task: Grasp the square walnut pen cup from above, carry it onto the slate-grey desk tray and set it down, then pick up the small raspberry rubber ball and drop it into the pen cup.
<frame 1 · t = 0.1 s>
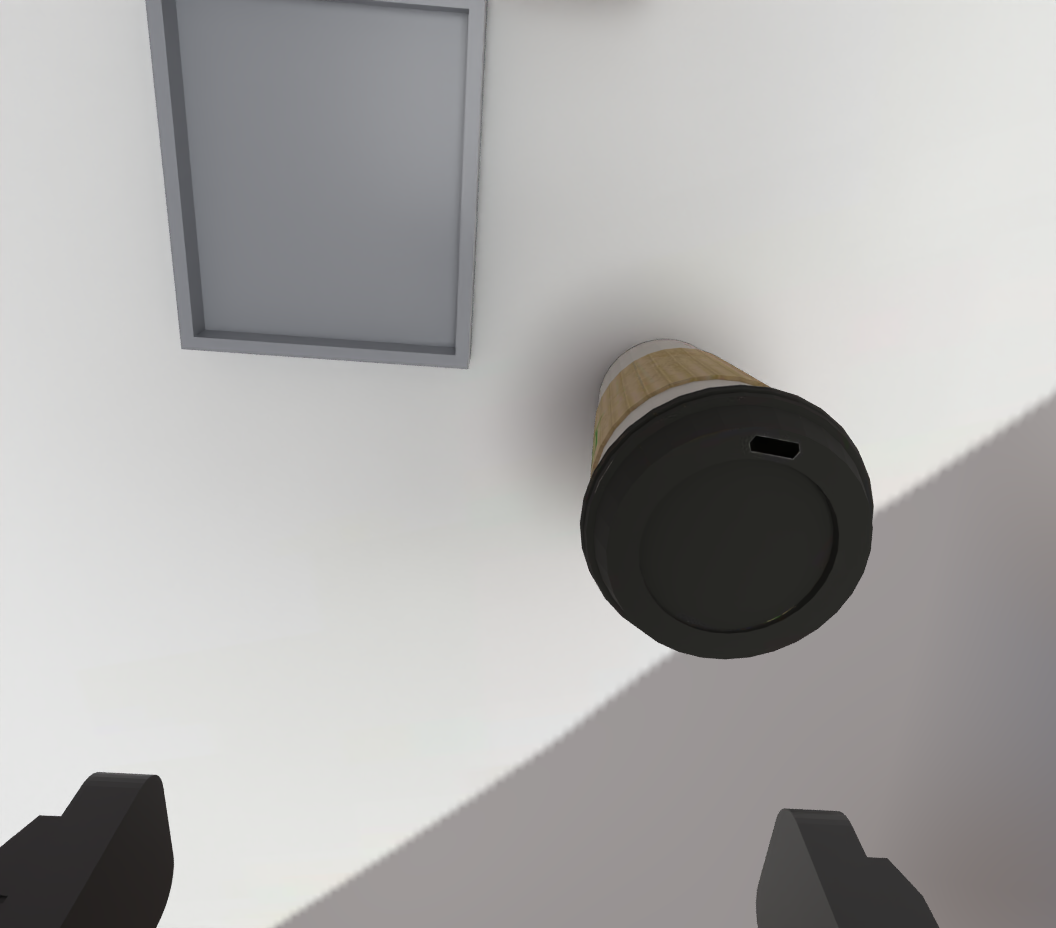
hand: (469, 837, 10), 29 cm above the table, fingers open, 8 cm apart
coffee cup: (659, 398, 39), on the table
tray: (331, 182, 34), on the table
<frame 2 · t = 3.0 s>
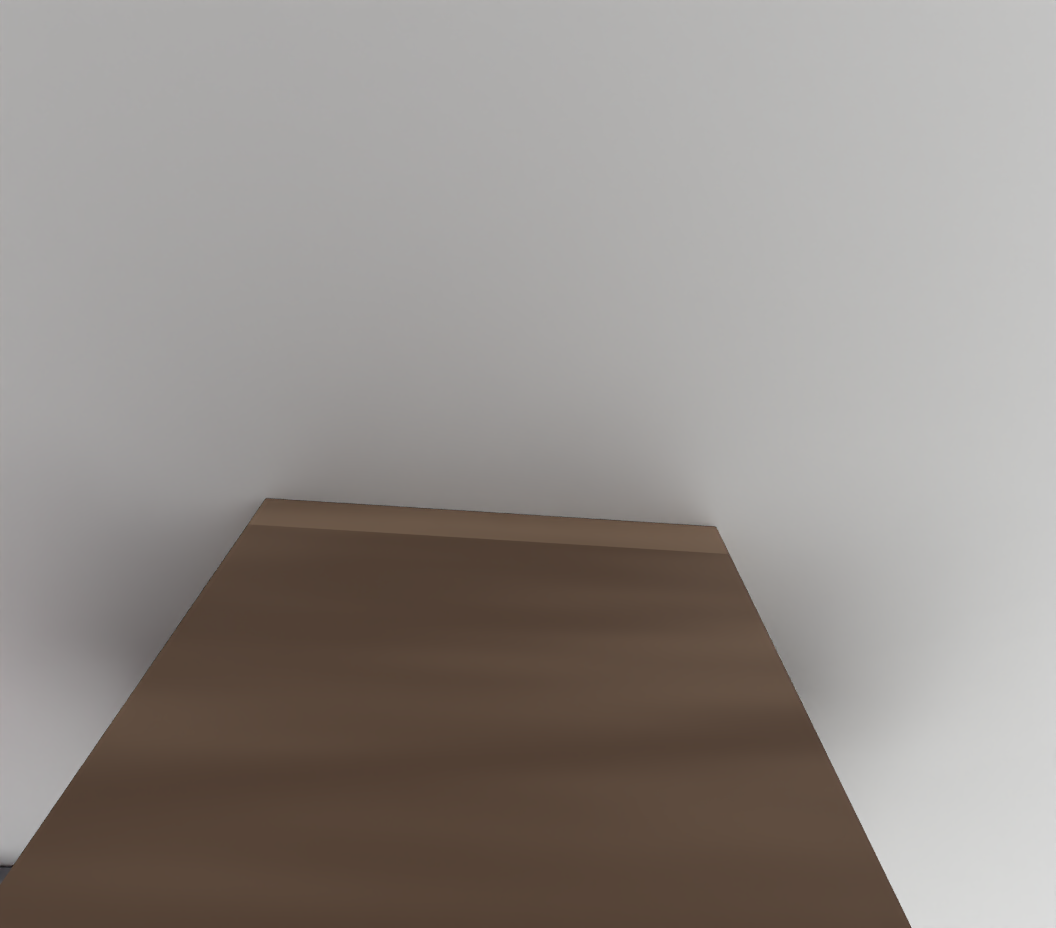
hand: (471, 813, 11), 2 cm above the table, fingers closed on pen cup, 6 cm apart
pen cup: (481, 692, 13), on the table, touching gripper
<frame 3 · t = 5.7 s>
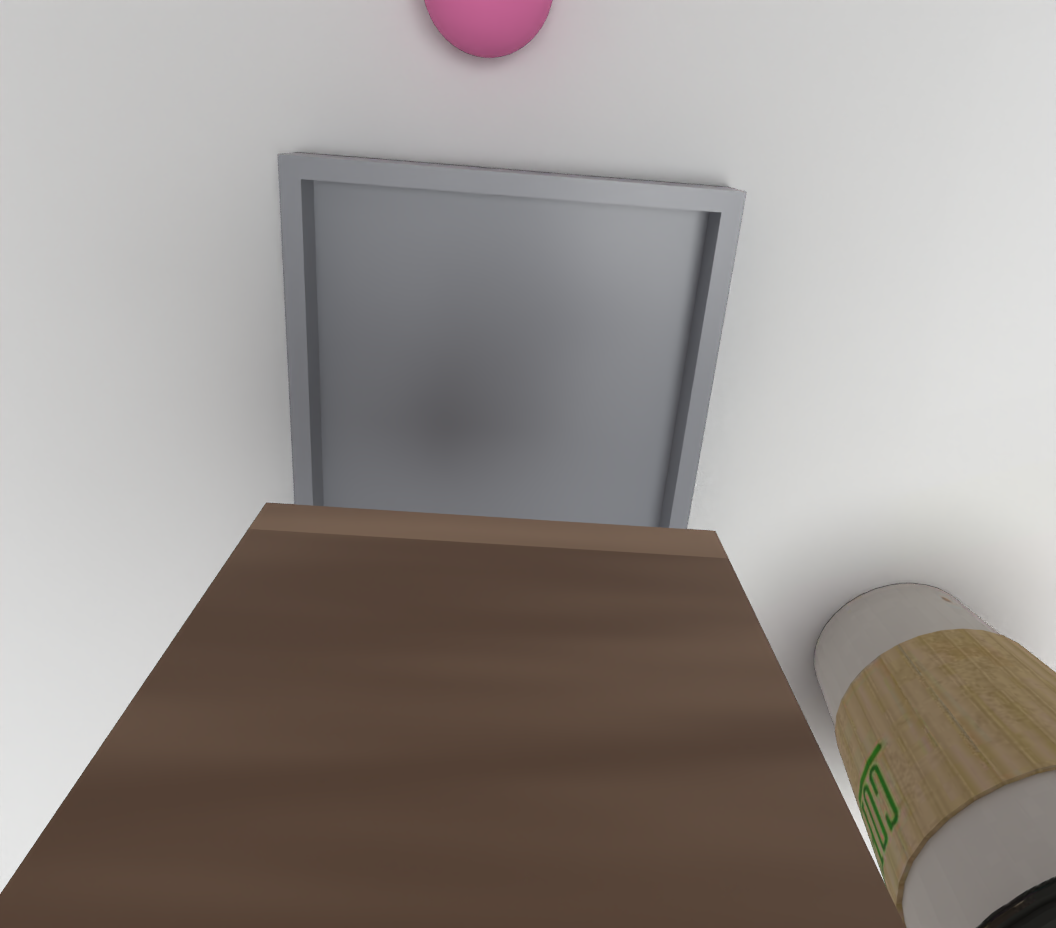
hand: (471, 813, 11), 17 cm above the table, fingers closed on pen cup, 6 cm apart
pen cup: (481, 695, 13), point 15 cm above the table, touching gripper
coffee cup: (890, 647, 31), on the table
tray: (499, 405, 26), on the table
when the fingers open (4 cm above the table, at t = 8.6 s): pen cup stays where it is, resting on tray.
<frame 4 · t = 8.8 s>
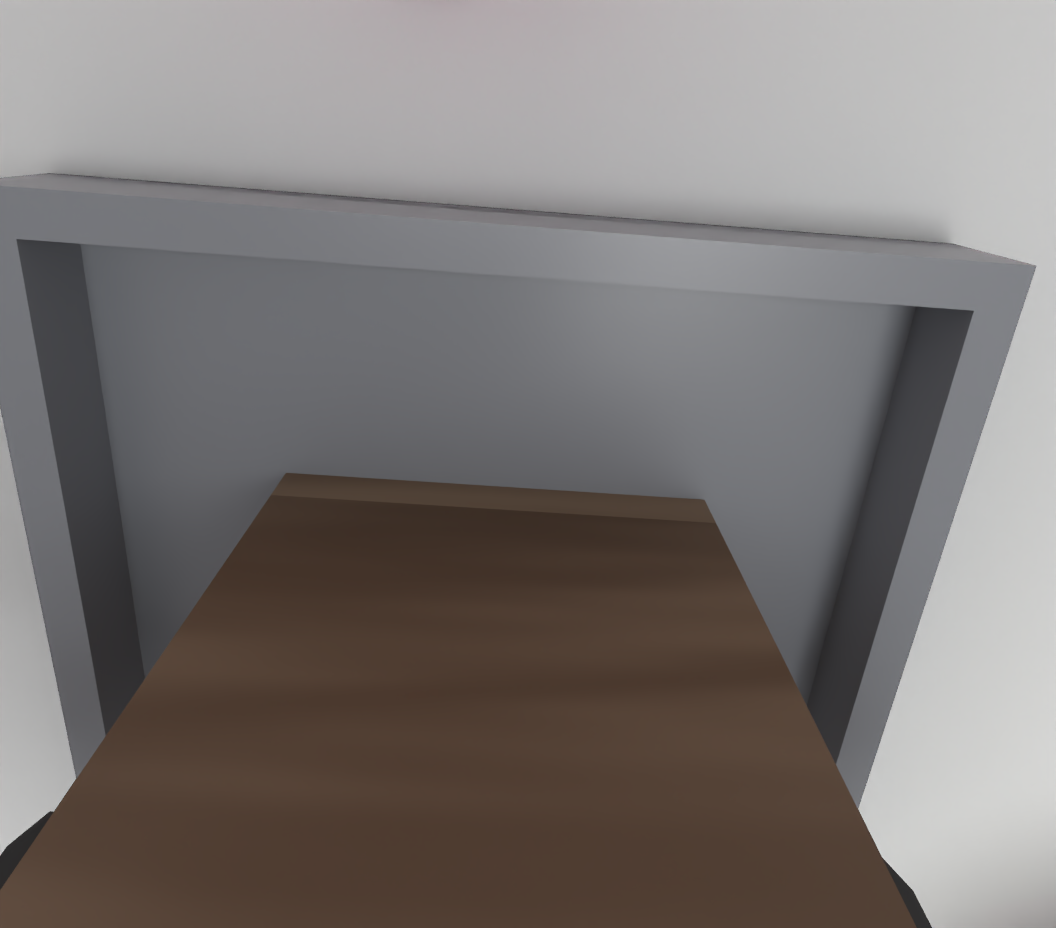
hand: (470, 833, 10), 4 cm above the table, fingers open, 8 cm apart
pen cup: (486, 657, 14), point 1 cm above the table, touching tray
tray: (483, 640, 14), on the table
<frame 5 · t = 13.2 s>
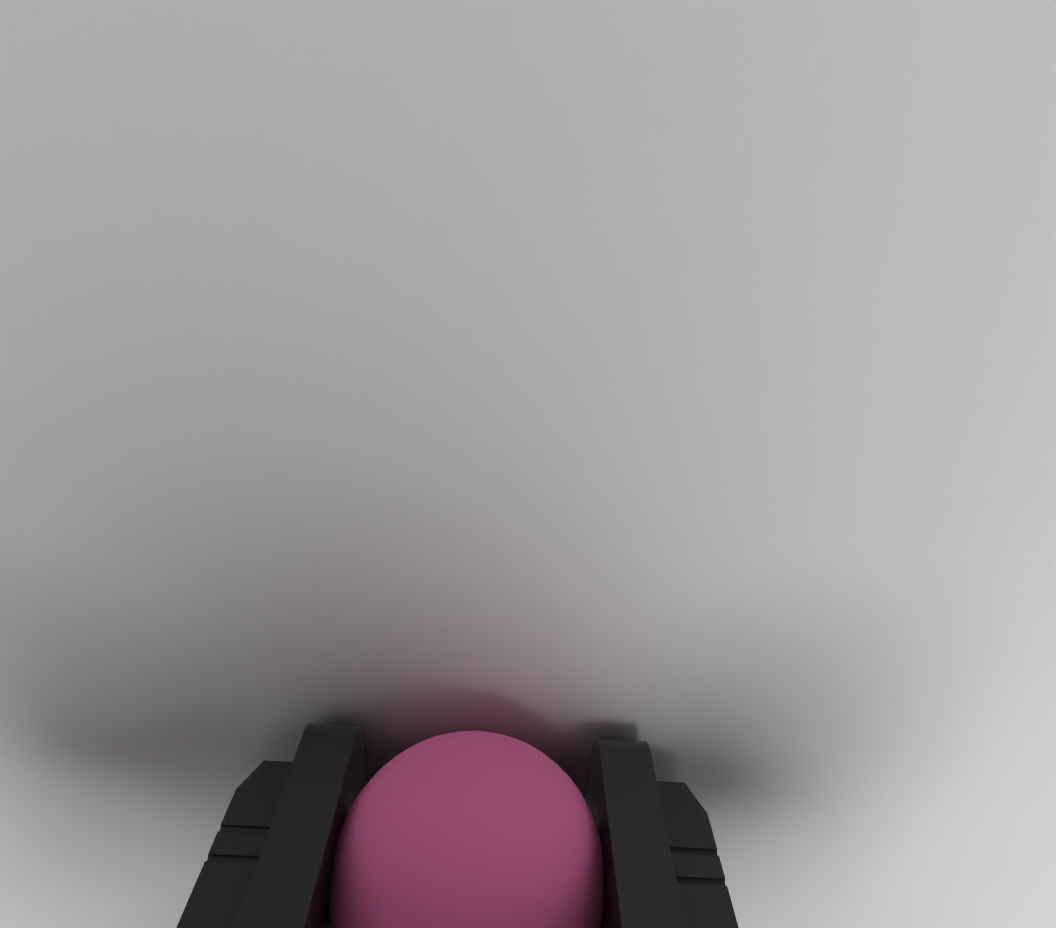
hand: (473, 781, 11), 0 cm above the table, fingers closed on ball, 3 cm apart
ball: (469, 874, 10), point 2 cm above the table, touching gripper
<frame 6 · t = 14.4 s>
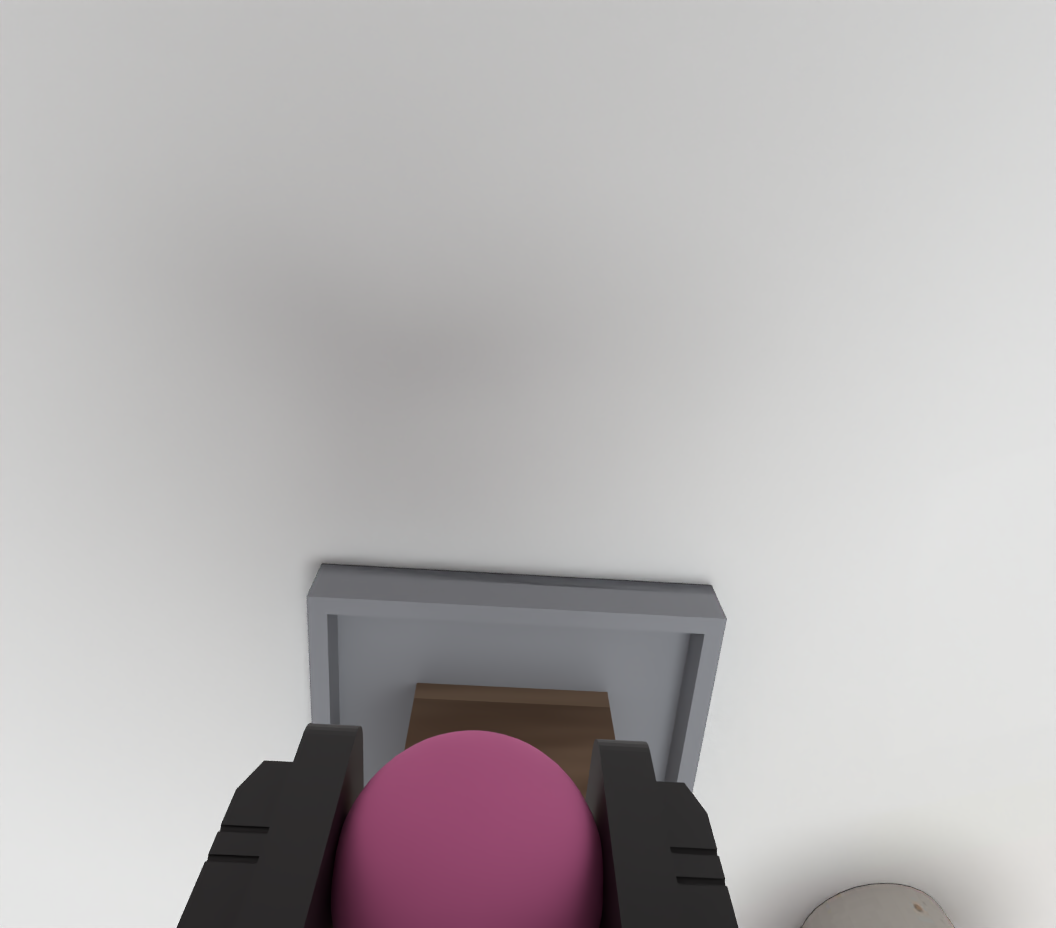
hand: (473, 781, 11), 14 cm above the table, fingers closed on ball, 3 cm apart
pen cup: (506, 761, 28), point 1 cm above the table, touching tray
ball: (469, 873, 10), point 15 cm above the table, touching gripper
tray: (505, 751, 29), on the table
when the fingers open (13 cm above the table, at t = 15.7 s): ball drops 12 cm, resting on pen cup.
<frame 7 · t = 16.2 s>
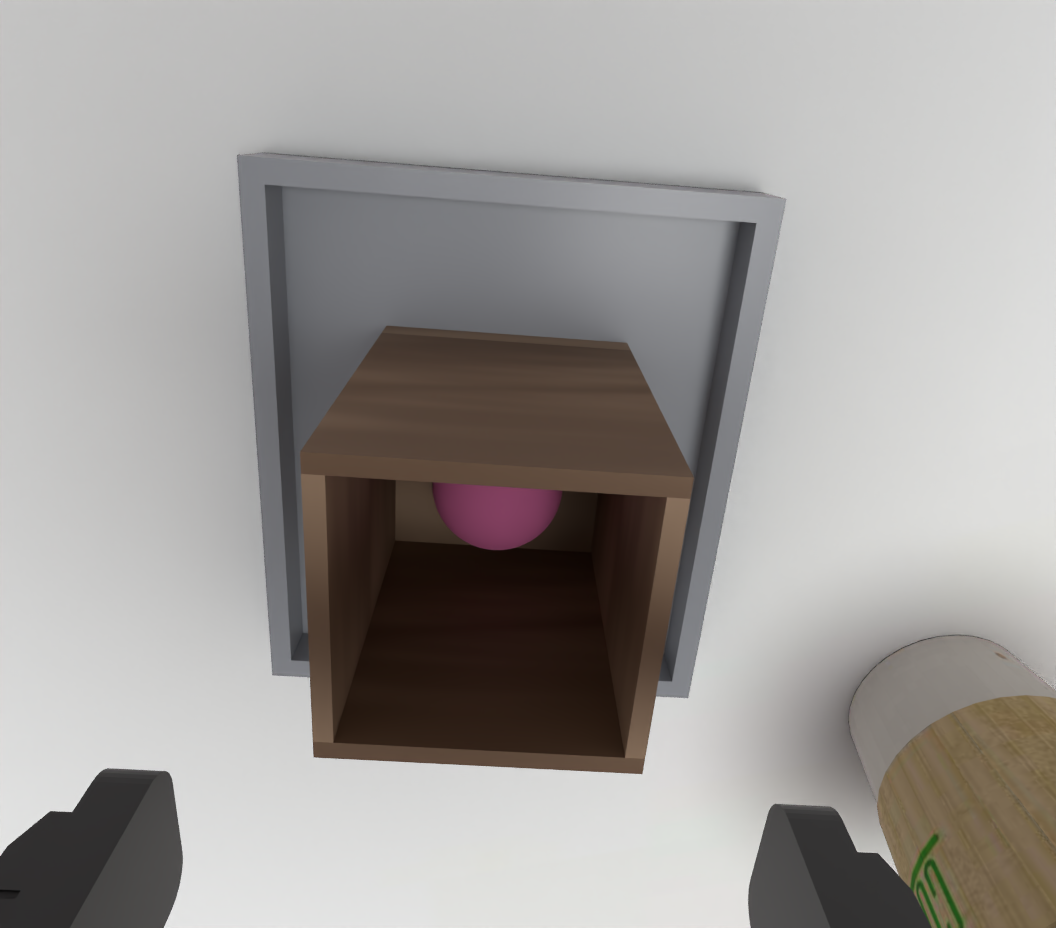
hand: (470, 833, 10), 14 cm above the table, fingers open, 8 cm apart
pen cup: (500, 445, 23), point 1 cm above the table, touching ball, tray
ball: (497, 484, 20), point 3 cm above the table, touching pen cup
coffee cup: (934, 704, 27), on the table
tray: (498, 440, 23), on the table
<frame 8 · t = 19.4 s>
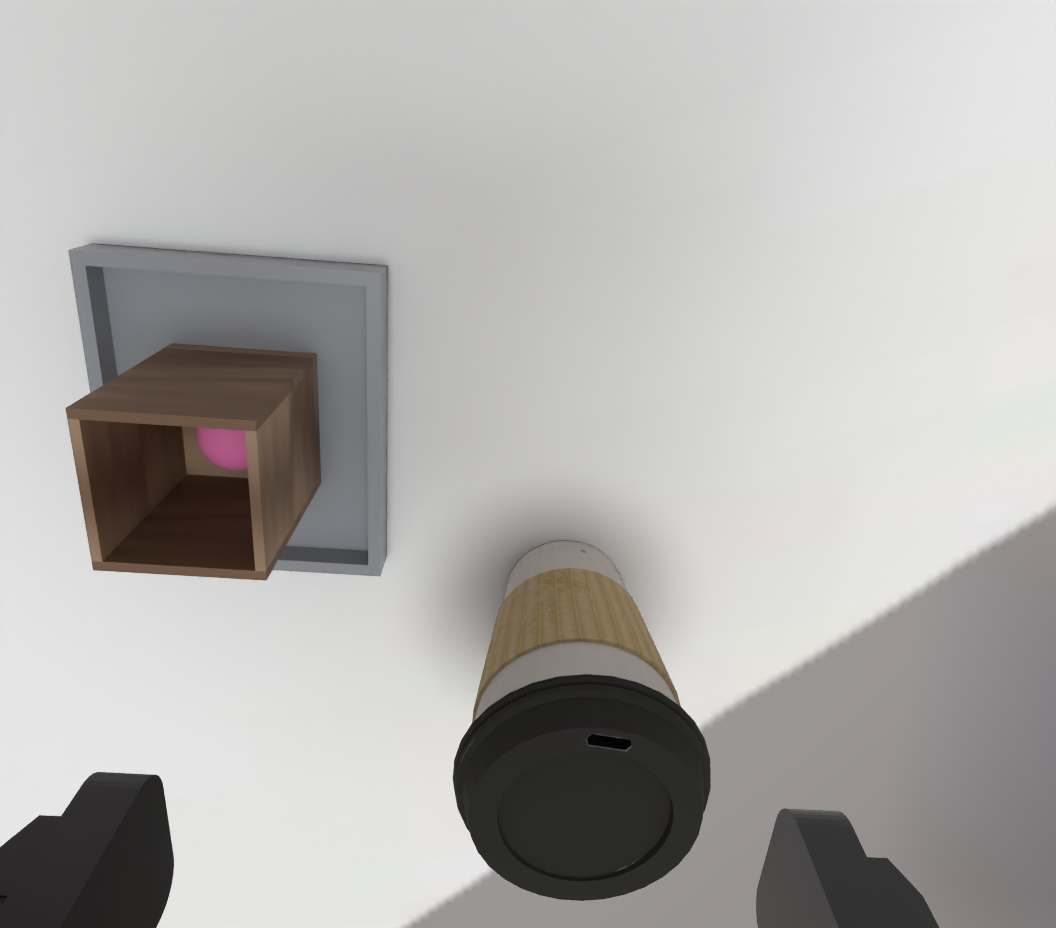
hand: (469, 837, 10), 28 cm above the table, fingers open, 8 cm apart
pen cup: (249, 415, 37), point 1 cm above the table, touching ball, tray
ball: (237, 432, 35), point 3 cm above the table, tilted 13°, touching pen cup
coffee cup: (563, 589, 42), on the table
tray: (252, 413, 37), on the table
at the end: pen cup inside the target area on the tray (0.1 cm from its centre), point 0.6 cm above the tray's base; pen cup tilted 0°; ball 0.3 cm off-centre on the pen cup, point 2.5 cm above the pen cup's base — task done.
